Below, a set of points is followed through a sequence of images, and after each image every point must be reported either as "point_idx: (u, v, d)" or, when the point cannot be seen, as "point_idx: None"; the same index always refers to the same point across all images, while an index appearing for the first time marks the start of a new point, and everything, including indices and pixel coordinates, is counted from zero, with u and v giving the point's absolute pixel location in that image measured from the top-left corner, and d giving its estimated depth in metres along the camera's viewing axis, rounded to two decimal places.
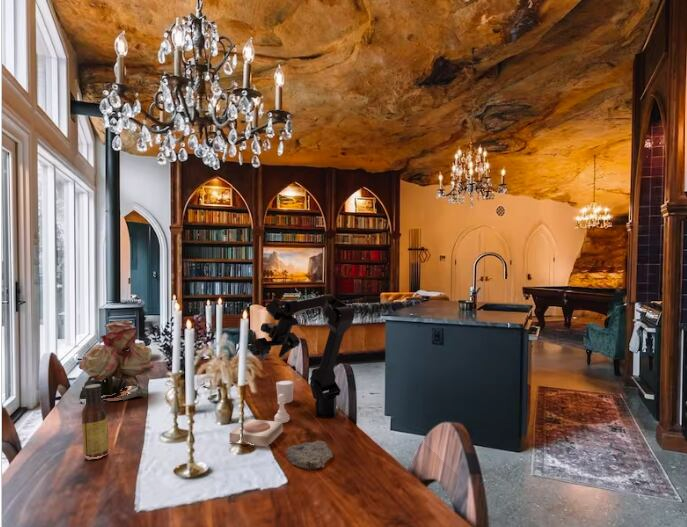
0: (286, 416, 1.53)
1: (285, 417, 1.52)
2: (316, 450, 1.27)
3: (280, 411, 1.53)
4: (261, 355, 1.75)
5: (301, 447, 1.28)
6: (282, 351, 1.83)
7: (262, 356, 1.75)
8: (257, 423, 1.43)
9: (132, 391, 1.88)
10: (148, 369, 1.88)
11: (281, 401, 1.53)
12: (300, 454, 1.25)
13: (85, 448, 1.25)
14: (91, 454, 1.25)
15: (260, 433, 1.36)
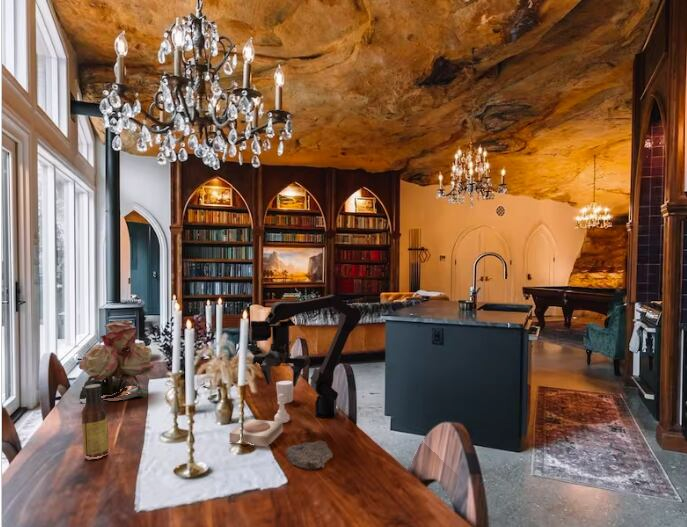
0: (286, 416, 1.53)
1: (285, 417, 1.52)
2: (316, 450, 1.27)
3: (280, 411, 1.53)
4: (297, 377, 1.53)
5: (301, 447, 1.28)
6: (269, 376, 1.55)
7: (298, 376, 1.53)
8: (257, 423, 1.43)
9: (132, 391, 1.88)
10: (148, 369, 1.88)
11: (281, 401, 1.53)
12: (300, 454, 1.25)
13: (85, 448, 1.25)
14: (91, 454, 1.25)
15: (260, 433, 1.36)
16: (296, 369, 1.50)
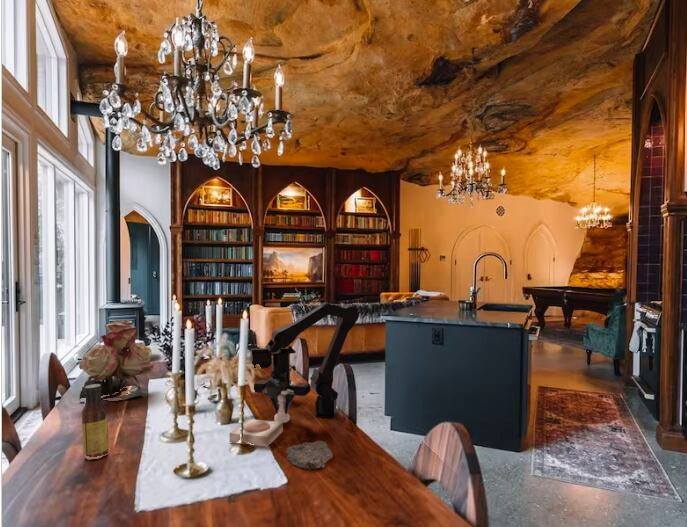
0: (286, 416, 1.53)
1: (285, 417, 1.52)
2: (316, 450, 1.26)
3: (280, 411, 1.53)
4: (289, 404, 1.54)
5: (301, 447, 1.28)
6: (277, 404, 1.55)
7: (290, 403, 1.54)
8: (257, 423, 1.43)
9: (132, 391, 1.88)
10: (148, 369, 1.89)
11: (281, 401, 1.53)
12: (300, 454, 1.25)
13: (85, 448, 1.25)
14: (91, 454, 1.25)
15: (260, 433, 1.36)
16: (288, 396, 1.51)
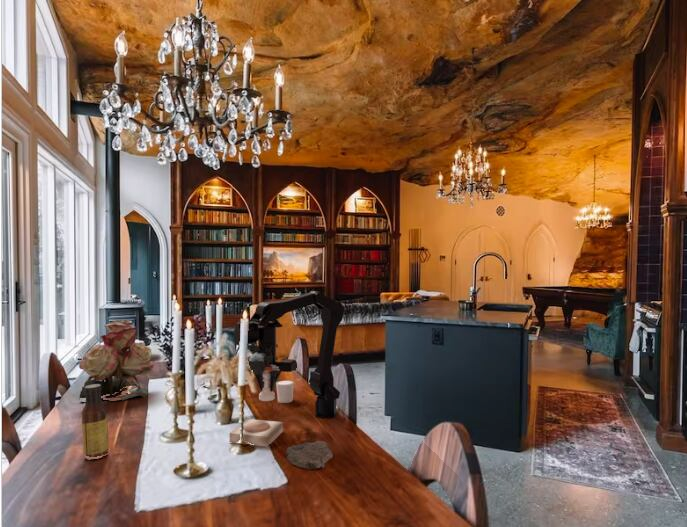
0: (271, 394, 1.45)
1: (270, 395, 1.44)
2: (316, 450, 1.26)
3: (265, 389, 1.45)
4: (274, 381, 1.46)
5: (301, 447, 1.28)
6: (262, 381, 1.47)
7: (276, 380, 1.46)
8: (257, 423, 1.43)
9: (132, 391, 1.89)
10: (148, 369, 1.89)
11: (266, 378, 1.45)
12: (300, 454, 1.25)
13: (85, 448, 1.25)
14: (91, 454, 1.25)
15: (260, 433, 1.36)
16: (273, 373, 1.43)
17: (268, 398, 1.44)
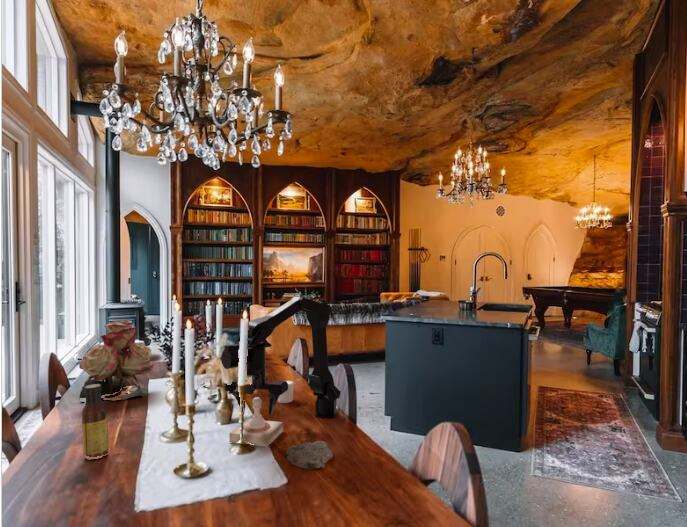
0: (262, 422, 1.39)
1: (260, 423, 1.39)
2: (316, 450, 1.26)
3: (255, 416, 1.39)
4: (273, 405, 1.39)
5: (301, 447, 1.28)
6: None
7: (275, 404, 1.39)
8: None
9: (132, 391, 1.89)
10: (148, 369, 1.89)
11: (256, 405, 1.39)
12: (300, 454, 1.25)
13: (85, 448, 1.25)
14: (91, 454, 1.25)
15: (260, 433, 1.36)
16: (272, 396, 1.36)
17: (258, 426, 1.38)
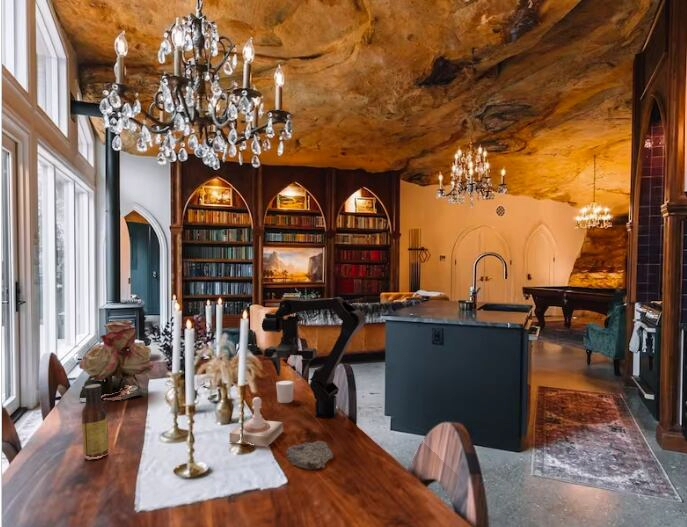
0: (262, 422, 1.39)
1: (260, 423, 1.39)
2: (316, 450, 1.26)
3: (255, 416, 1.39)
4: (305, 368, 1.64)
5: (301, 447, 1.28)
6: (278, 367, 1.66)
7: (306, 367, 1.64)
8: None
9: (132, 390, 1.89)
10: (148, 368, 1.89)
11: (256, 405, 1.39)
12: (300, 454, 1.24)
13: (85, 448, 1.25)
14: (91, 454, 1.25)
15: (260, 433, 1.36)
16: (305, 360, 1.61)
17: (259, 426, 1.38)
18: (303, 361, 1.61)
